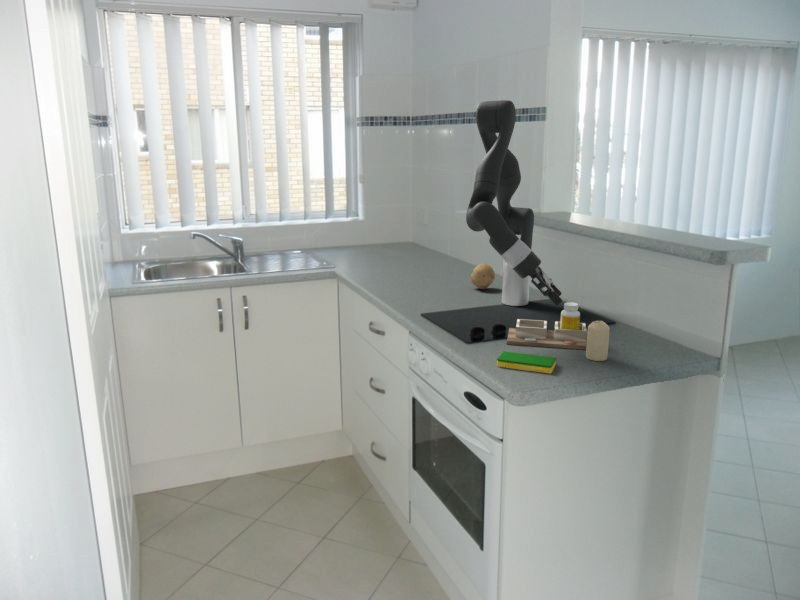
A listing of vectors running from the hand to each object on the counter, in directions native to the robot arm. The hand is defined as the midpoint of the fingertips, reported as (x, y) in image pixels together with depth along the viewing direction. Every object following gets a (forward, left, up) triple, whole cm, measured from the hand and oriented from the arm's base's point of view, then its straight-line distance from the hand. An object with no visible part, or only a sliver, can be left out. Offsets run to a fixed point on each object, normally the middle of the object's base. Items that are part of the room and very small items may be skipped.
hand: (559, 299), depth 190 cm
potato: (-57, -27, -12) cm, 64 cm away
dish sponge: (+25, -8, -12) cm, 29 cm away
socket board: (+2, -2, -12) cm, 12 cm away
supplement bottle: (0, +3, -11) cm, 11 cm away
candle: (+15, +10, -12) cm, 22 cm away
